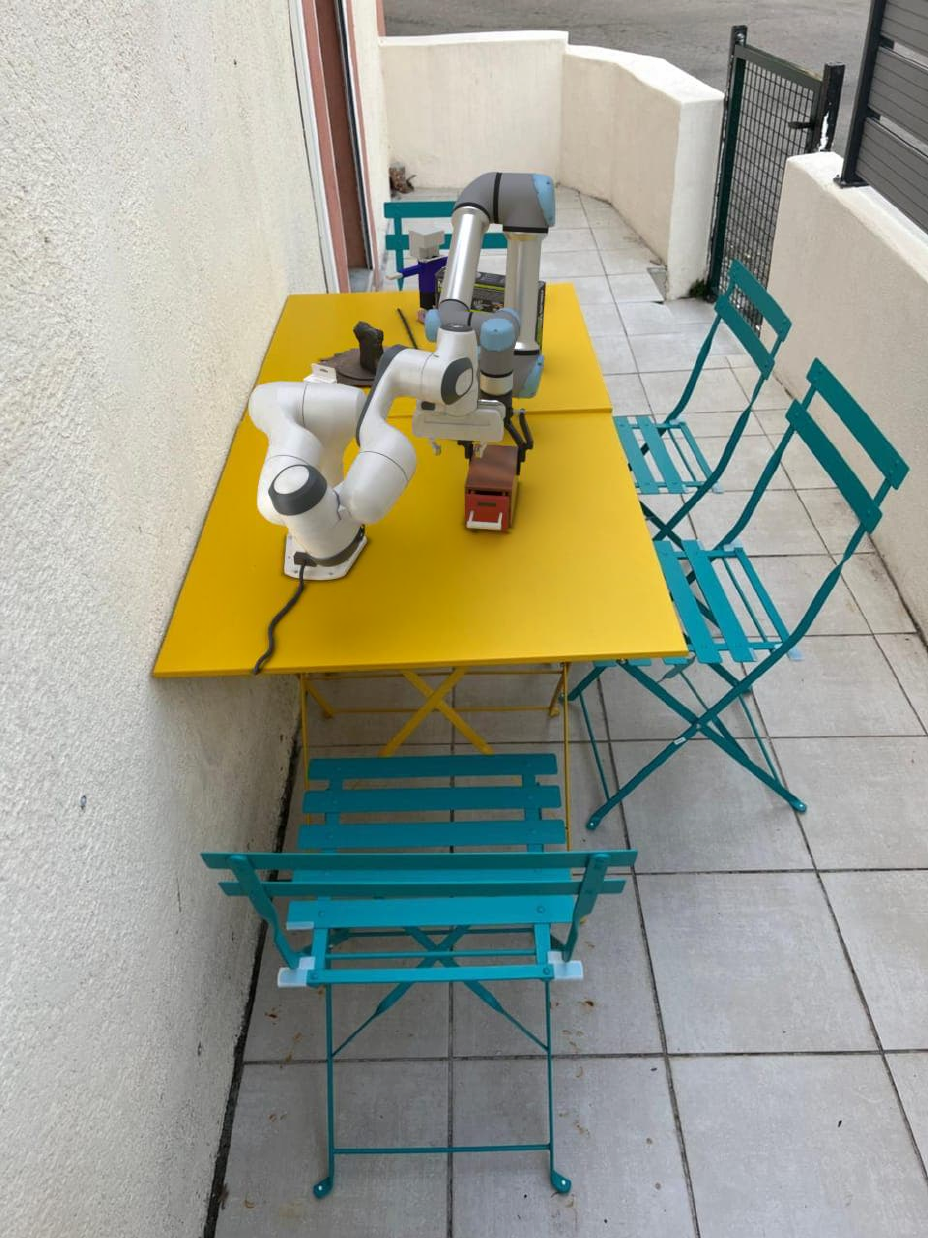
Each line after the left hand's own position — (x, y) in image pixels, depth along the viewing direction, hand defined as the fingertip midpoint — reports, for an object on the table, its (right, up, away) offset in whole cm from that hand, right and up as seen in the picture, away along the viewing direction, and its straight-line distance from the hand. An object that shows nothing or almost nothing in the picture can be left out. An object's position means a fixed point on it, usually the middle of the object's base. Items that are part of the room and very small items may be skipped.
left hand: (458, 455), depth 198 cm
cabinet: (+8, -8, +20) cm, 24 cm away
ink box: (-39, +21, +55) cm, 71 cm away
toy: (-10, +67, +109) cm, 129 cm away
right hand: (+9, 0, +21) cm, 22 cm away
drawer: (+7, -11, +15) cm, 20 cm away
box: (+9, +45, +83) cm, 95 cm away
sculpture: (-28, +42, +80) cm, 95 cm away
